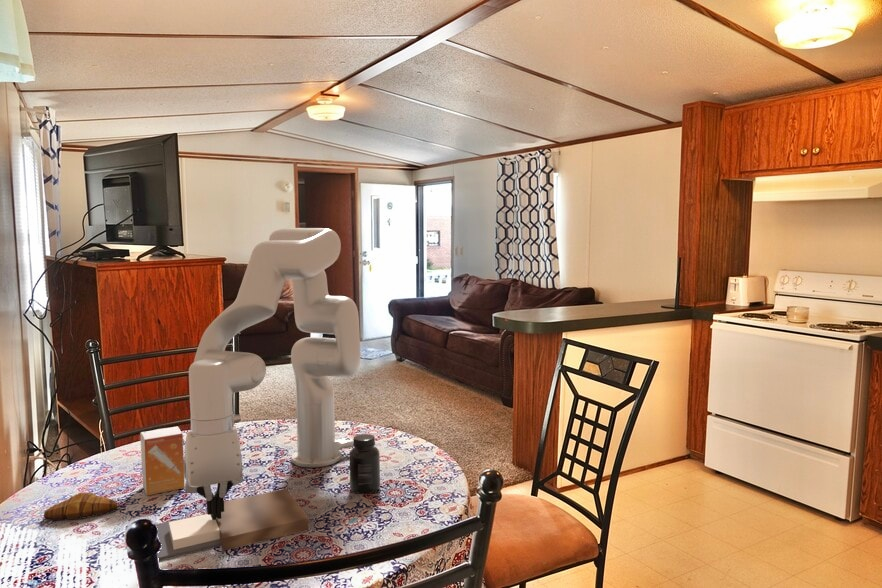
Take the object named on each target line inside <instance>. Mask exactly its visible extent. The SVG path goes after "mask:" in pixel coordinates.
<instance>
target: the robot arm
mask: <svg viewBox="0 0 882 588" xmlns="http://www.w3.org/2000/svg"><path fill="white" fill-rule="evenodd" d="M341 245H342V244H341V239H340V236H339V235H338V233H337V232H336V231H335V230H333V229H330V228H326V227H325V228H323V227H289V228H287V227H286V228H279V229H277V230H275V231H273V232H271V234H270V235H269V239H268V240H264V241H262V242H259V243H257V244H256V245H255V246H254V248H253V250H252V252H251V255H250V257H249V261H248V263H247V266H246V269H245V272H244V275H243V278H242V281H241V284H240V287H239V289H238V293H237V296H236V298H235V300H234V302H233V303H232V304H230V305H229V306H228V307H226V308H225V309H224V310H223V311H222V312H220V313H219V315H218V316H216V318H215V319H214V320H213V321H212V322H211V323H210V324H209V325H208V326H207V328H206V329H205V330H204V332H203V334H202V336H201V338H200V341H199V344H198V347H197V349H196V352H195V356H194V358H193V359H194V360H193V362H192V363H191V364H190V366H189V368H188V387H189V388H188V389H189V408H190V410H189V411H190V412H189V413H190V431H188V432H187V433H186V437H185V444H184V455H183V456H184V480H185V482H184V486H185V487H184V488H183V489H184V493H186V494H198V495H200V496H201V497H202V498H204V499H206V514H208V515H211V517H212V520H215V519H216V518H218V519H221V512H224V501H225V497H226V495H227V493H229V491H230V490H231V489H232V488H233V487H234V486H237V485H239V484H241V483H243V482H244V481H245V480H244V477H243V458H242V450H241V443H240V436H239V433H238V432H239V431H238V429H237V427H236V426H235V423H236V424H237V423H238V422H241V419H242V417H241V414H237V413H235V414H234V413H233V411H234V410H233V397H232V394H233V395H234V394H235V393H238V392H246V391H250V390H253V389H255V388H257V387H258V386H260V384H261V383H262V382H263V381H264V379H265V377H266V373H267V368H266V367H267V366H266V363H265V361H264V359H262V357H261V356H259V355H257V354H255V353H252V352H243V351H234V350H233V351H229V350H226V349H227V348H226V347H228V345H229V343H230V341H231V340H232V339H233V338H234V337H235V336H236V335H238V334H239V333H241V332H242V331H243V330H245V329H247V328H249V327H251V326H252V327H253V326H254V325H257V324H259V323H262V322H263V321H265V320H267V319H270V318H272V317H273V316H274V315H275V314H276V312H277V309H278V305H279V301H280V298H281V296H282V293H283V292H282V291H283V289H284V286H285V282H286V281H287V280H291V285H292V296H293V310H294V319H295V320H294V321H295V325H296V328H297V329H298V330H299V331H301V332H303V333H308V334H309V333H310V334H321V335H323V334H325V335H334V337H335V338H334V337H332V338H331V337H319V336H318V337H317V336H316V337H314V336H312V337H309V336H308V337H303V338H301V339H299V340H297V341H295V343H294V344H293V346H292V348H291V352H290V361H291V367H292V370H293V374H294V380H295V381H294V382H295V393H296V394H295V399H296V400H295V401H296V402H295V403H296V436H297V438H296V439H297V440H296V443H297V450H296V451H295V452H294V453H292V454H291V462H292V464H294V465H295V466H298V467H302V468H322V467H327V466H331V465H334V464H336V463H337V462H339V461H340V460H341V459H342V450H343V449H350V448H351V449H352V448H354V446H353V443H354V440H353V439H349V440H345V438H342V439H341V438H340V439H337V438H336V428H335V426H336V424H335V421H336V420H335V419H336V418H335V417H336V416H335V390H334V386H333V384H332V382H331V380H330V379H329V377H333V378H350V377H353V376H354V375H356V374H357V373H358V371H359V369H360V366H361V365H360V364H361V357H362V356H361V335H360V316H359V310H358V306H357V305H356V303H355V301H354V300H353V299H351V297H348V296H344V295H330V293H329V290H328V289H329V288H328V278H327V277H328V276H327V273H326V271H325V270H326V269H327V268H329V267H330V266H332V265H333V264H334V263H335V262H336V261H337V260H338V259H339V256H340V253H341V250H342V248H341ZM216 484H217V487H216V491H215V493H213V491H212V487H211V486H213V485H216Z"/></svg>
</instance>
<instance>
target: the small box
mask: <svg viewBox="0 0 882 588" xmlns="http://www.w3.org/2000/svg"><path fill="white" fill-rule="evenodd" d="M139 434H140V454H141V456H140V459H141V477H142V478H141V479H142V488H143V490H144V492H145V495H146V496H147V497H148V496H151V495H156V494H160V493H166V492H171V491H176V490H180V489H181V490H182V489H184V487H185V472H184V456H185V455H184V436H183V432H182V431H181V429H180V427H179V426H173V427H172V426H171V427H163V428H157V429H153V430H147V431H141V432H140V433H139Z"/></svg>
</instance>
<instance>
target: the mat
mask: <svg viewBox="0 0 882 588" xmlns="http://www.w3.org/2000/svg"><path fill="white" fill-rule="evenodd" d="M205 514H206V513H203V514H198V515H192V516H188V517H183V518H180V519H174V520H169V521H165V522H160V523H157V524H156V523H155V524H156V526H157V528H158V532H159V533H158V537H159V540H160V542H161V544H162V549H161V551H160V552H159V554H158V558H159V561H158V562H160V561H163V560H168V559H172V558H177V557H182V556H184V555H189V554H194V553H197V552H198V553H199V552H202V551H205V550H206V551H207V550H211V549H215V548H219V547H222V543H221V540H220V539H217V540H213V541H209V542H205V543H200V544H196V545H192V546H187V547H183V548H179V549H175V550H174V549H173V545H172V541H171V537H170V533H169V522H172V521H177V520H181V519H186V518H191V517H195V516H200V515H205Z"/></svg>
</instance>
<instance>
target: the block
mask: <svg viewBox="0 0 882 588" xmlns="http://www.w3.org/2000/svg"><path fill="white" fill-rule="evenodd" d="M204 514H205V515H202V514H199V515H200V516H197V515H194V516H195V517H192V516H190V517H191V518H188V517H185V518H186V519H183V518H180V519H181V520H178V519H176V520H177V521H174V520H171V521H172V522H169V521H168V522H169V533H170V537H171V541H172V545H173V549H174V550H175V549H179V548H183V547H187V546H192V545H196V544H200V543H205V542H209V541H213V540H217V539H220V530H219V527H218V525H217V522H216V520H212V517H211V515H208V514H207V513H204Z"/></svg>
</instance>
